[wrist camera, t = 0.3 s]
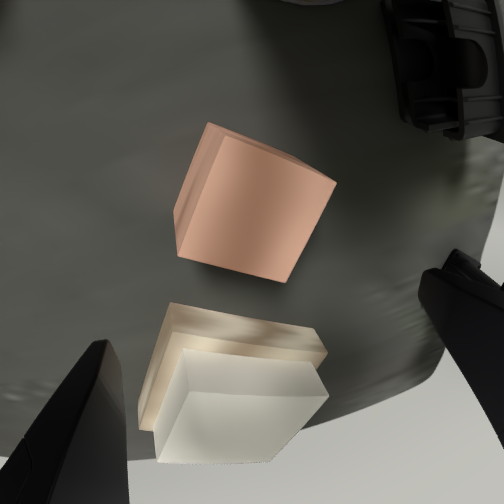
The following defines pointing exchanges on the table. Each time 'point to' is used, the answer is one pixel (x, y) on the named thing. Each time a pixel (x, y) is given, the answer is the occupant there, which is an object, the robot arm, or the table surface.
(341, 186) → the table surface
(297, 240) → the terracotta cube
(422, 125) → the end cap
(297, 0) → the canister
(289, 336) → the birch base slab
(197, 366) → the cream top slab
